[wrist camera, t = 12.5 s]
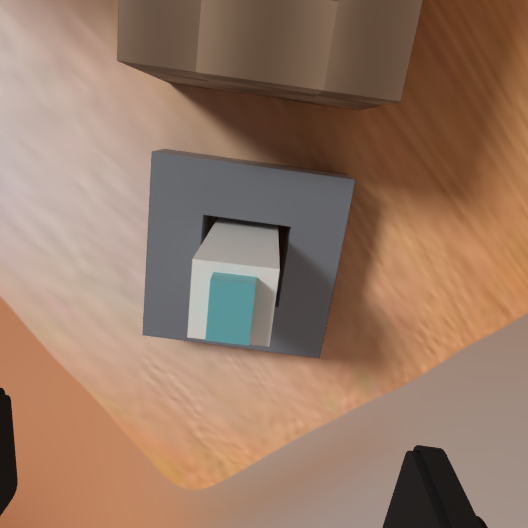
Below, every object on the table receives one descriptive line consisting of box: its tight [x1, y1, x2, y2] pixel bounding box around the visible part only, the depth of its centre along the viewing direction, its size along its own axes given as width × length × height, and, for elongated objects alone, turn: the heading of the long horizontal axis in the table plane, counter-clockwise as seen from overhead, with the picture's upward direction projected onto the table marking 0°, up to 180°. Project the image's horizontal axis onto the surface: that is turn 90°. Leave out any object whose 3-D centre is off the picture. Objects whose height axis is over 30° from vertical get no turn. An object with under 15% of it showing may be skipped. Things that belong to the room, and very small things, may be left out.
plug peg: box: [187, 217, 280, 347], centre depth 24 cm, size 4×4×11 cm
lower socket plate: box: [143, 149, 355, 358], centre depth 28 cm, size 12×12×3 cm
